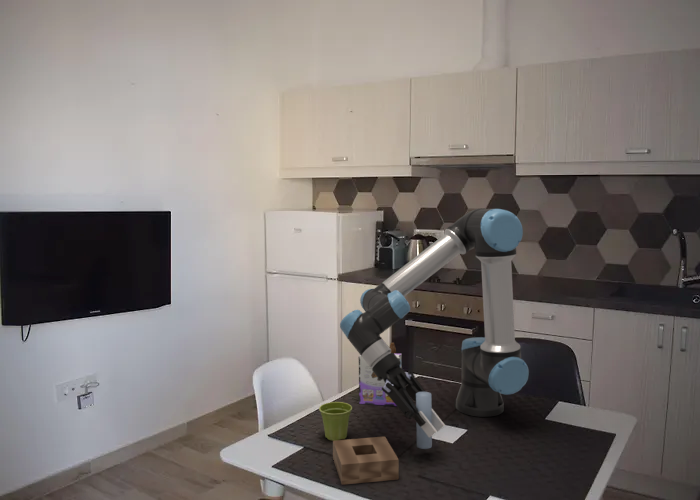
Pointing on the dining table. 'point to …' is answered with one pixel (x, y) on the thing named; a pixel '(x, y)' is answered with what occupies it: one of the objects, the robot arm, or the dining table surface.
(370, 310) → the robot arm
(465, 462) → the dining table surface
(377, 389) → the candy box
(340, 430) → the plant pot
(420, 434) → the dowel
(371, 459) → the bore block
